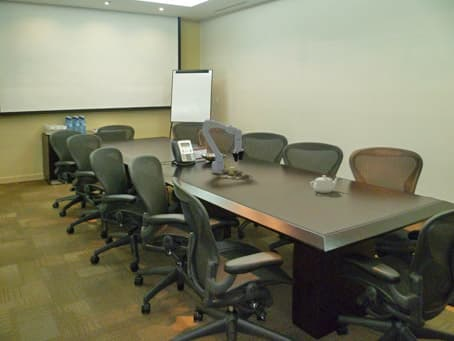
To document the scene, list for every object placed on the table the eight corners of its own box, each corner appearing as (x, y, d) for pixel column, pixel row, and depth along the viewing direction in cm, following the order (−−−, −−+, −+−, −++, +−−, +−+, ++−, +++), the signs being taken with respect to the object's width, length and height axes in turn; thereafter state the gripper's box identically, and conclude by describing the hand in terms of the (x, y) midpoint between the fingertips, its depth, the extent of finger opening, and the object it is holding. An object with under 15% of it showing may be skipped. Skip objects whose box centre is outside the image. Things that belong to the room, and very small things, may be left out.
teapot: (316, 195, 257) (316, 178, 255) (304, 190, 270) (305, 174, 268) (344, 192, 265) (345, 176, 263) (332, 187, 278) (333, 172, 275)
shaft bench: (218, 177, 312) (218, 170, 310) (227, 173, 323) (227, 167, 322) (237, 179, 303) (237, 172, 302) (246, 176, 315) (246, 169, 314)
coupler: (228, 175, 312) (228, 167, 311) (231, 174, 316) (231, 166, 314) (233, 175, 310) (233, 168, 309) (236, 174, 313) (236, 167, 312)
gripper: (238, 145, 316) (238, 162, 319) (246, 143, 328) (246, 160, 331) (230, 145, 319) (230, 162, 322) (239, 142, 332) (239, 159, 334)
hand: (238, 161), depth 327 cm, fingers open, 7 cm apart
